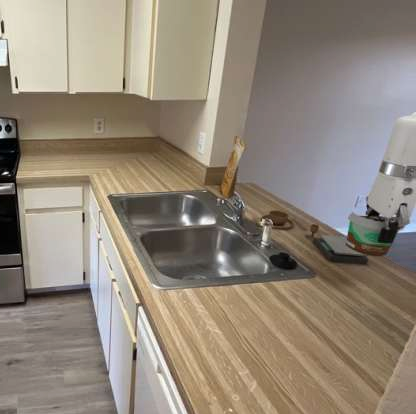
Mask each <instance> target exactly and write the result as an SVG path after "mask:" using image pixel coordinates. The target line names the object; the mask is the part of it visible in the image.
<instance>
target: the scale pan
mask: <svg viewBox="0 0 416 414" xmlns="http://www.w3.org/2000/svg"><path fill="white" fill-rule="evenodd" d="M319 238H321V239H322V240H323V241H324V242H325V243H326V244H327V245H328V246H329V247H330V248H331V250H332V251H333V252H334V253H335V254H343V255H355V256H366V257H367V258H368V257H369V255H365V254H362V253H359V252H356V251H354V250H352V249H350V248H349V247H347V246H346V240H347V236H341V235H340V236H339V235H328V234H327V235H326V234H320V235H319Z"/></svg>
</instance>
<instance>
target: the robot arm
mask: <svg viewBox="0 0 416 414" xmlns="http://www.w3.org/2000/svg"><path fill="white" fill-rule="evenodd" d="M365 203H366V210H365V216H382V217H385V226H384V228H382V229H381V232H380V234H379V237H378V240H377V241H378V242H379V243H390V244H391V243H392V244H393V243H394V241H395V239H396V238H395V236H396V233H397V231H398V230H400V228H403V227H404V226H405V227H406V226H408V225H409V224H410V222H411V220H410V219H411V217H412V215H413V212H414V210H415V206H416V111H414V112H413V113H412V114H410V115H403V116H400V117H398V118H397V119H396V120H395V122H394V124H393V128H392V131H391V133H390V136H389V139H388V143H387V145H386V149H385V151H384V154H383V157H382V160H381V163H380V166H379V168H378V173H377V175H376V177H375V178H374V181H373V184H372V186H371V188H370V190H369V194H368V196H366V197H365ZM393 215H395V216H393ZM391 219H395V222H393V223H391V224H390V222H391ZM400 231H401V230H400ZM396 237H397V236H396Z"/></svg>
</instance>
